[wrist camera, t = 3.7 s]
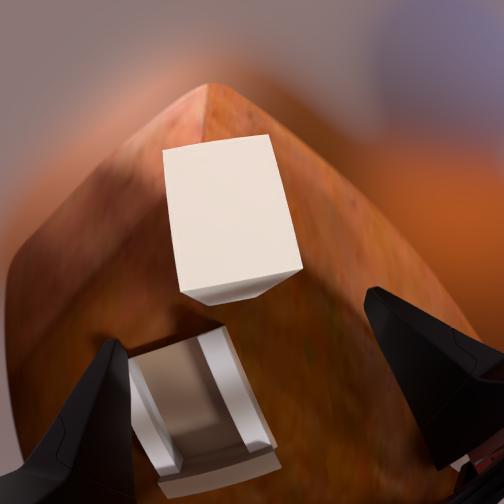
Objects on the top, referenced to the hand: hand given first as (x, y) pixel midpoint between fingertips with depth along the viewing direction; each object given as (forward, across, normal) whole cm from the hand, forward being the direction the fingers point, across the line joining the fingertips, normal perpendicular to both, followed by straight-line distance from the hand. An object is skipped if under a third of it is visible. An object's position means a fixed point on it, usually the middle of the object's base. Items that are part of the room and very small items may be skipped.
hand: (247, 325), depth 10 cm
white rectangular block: (+10, 0, +5) cm, 12 cm away
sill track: (+3, +4, +12) cm, 13 cm away
